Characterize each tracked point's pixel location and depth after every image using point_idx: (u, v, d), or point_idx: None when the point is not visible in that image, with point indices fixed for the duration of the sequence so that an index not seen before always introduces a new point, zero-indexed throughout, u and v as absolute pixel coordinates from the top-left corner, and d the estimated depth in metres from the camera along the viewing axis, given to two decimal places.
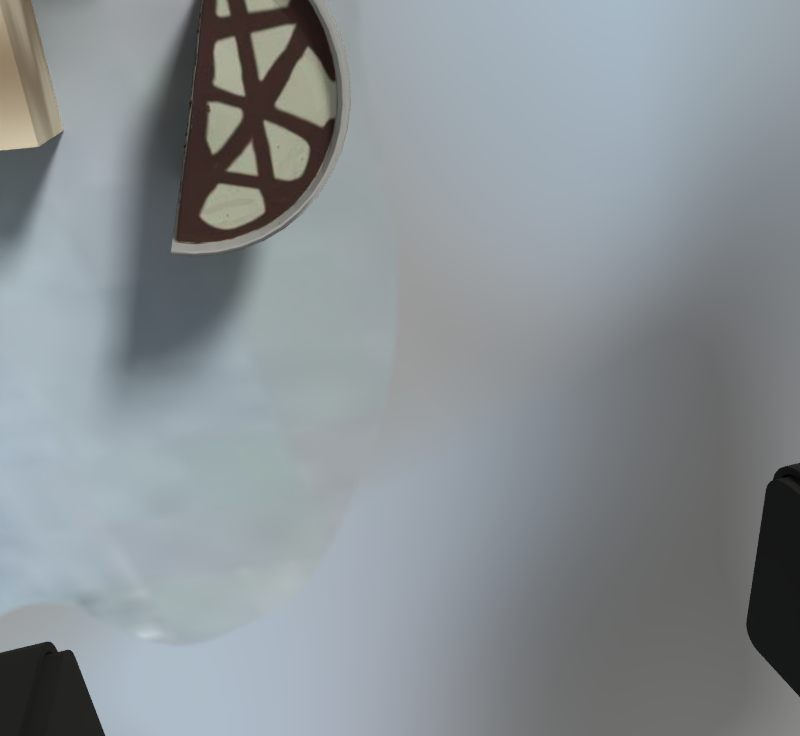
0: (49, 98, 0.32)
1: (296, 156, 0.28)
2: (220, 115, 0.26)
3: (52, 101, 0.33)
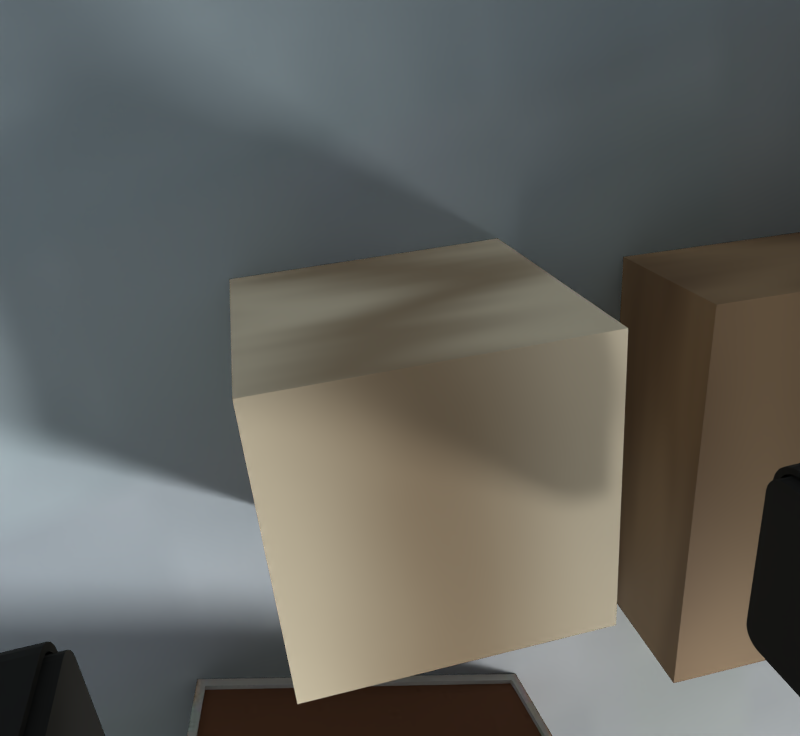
0: None
1: None
2: None
3: None
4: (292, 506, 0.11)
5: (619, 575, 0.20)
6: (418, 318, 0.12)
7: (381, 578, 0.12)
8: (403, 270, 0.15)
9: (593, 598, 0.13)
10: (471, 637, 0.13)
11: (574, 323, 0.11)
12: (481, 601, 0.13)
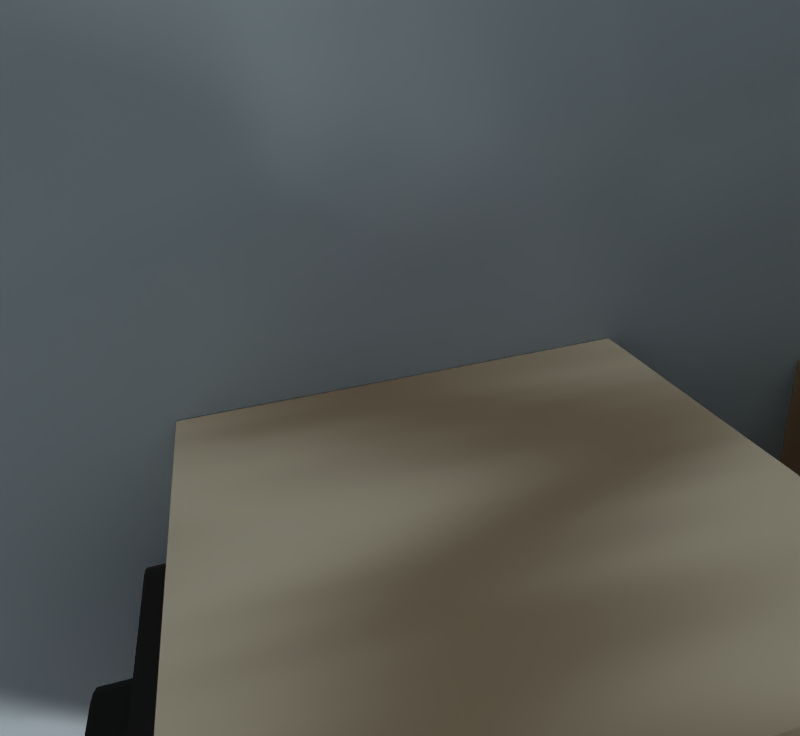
0: None
1: None
2: None
3: None
4: None
5: None
6: (544, 575, 0.06)
7: None
8: (474, 415, 0.09)
9: None
10: None
11: None
12: None
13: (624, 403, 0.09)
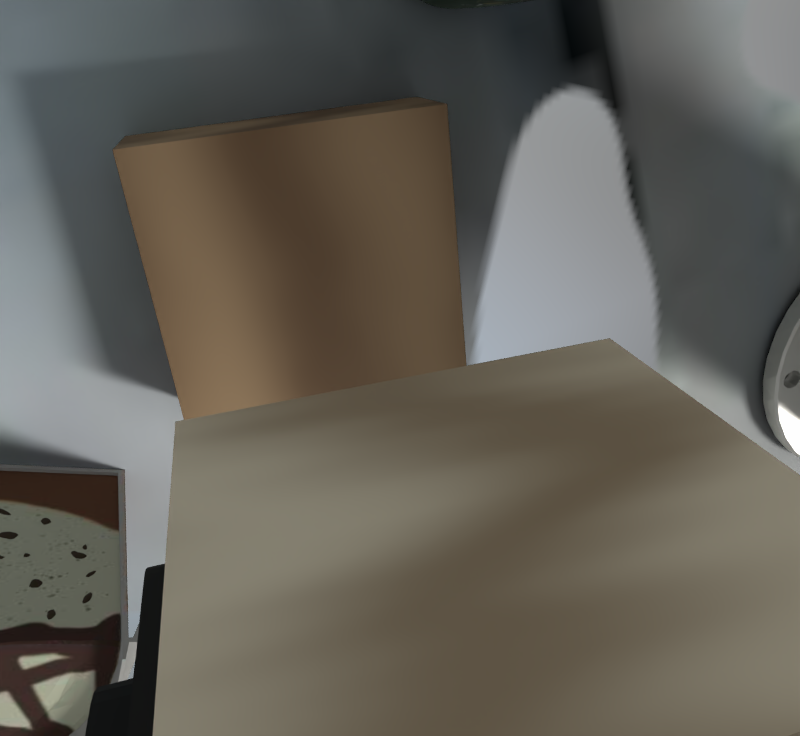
0: None
1: None
2: None
3: None
4: None
5: None
6: (545, 577, 0.06)
7: None
8: (475, 416, 0.09)
9: None
10: None
11: None
12: None
13: (625, 403, 0.09)
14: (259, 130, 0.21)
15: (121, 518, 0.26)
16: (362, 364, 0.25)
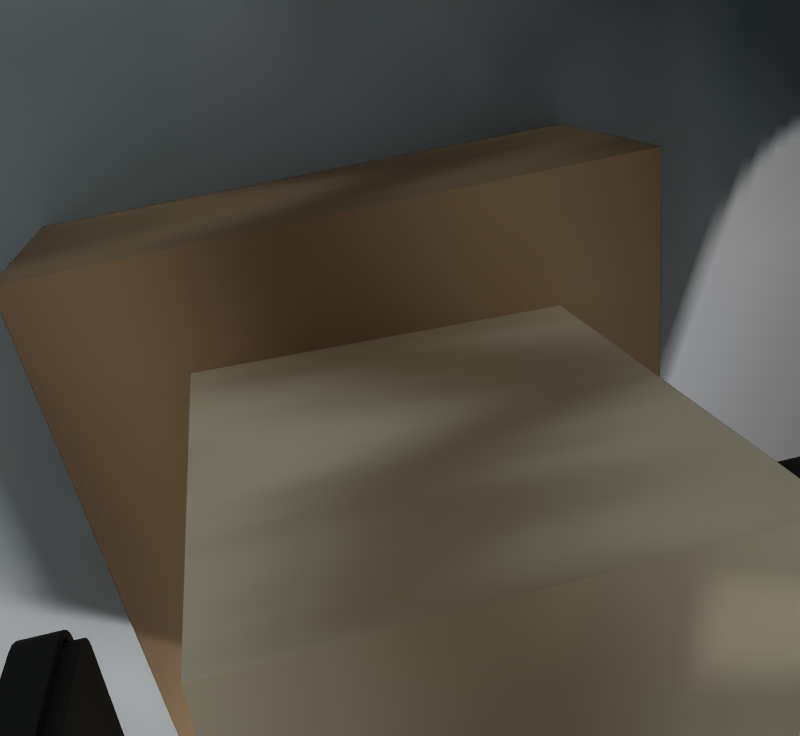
0: None
1: None
2: None
3: None
4: None
5: None
6: (484, 473, 0.08)
7: None
8: (440, 365, 0.10)
9: None
10: None
11: (746, 494, 0.07)
12: None
13: (565, 354, 0.10)
14: (296, 224, 0.10)
15: None
16: None
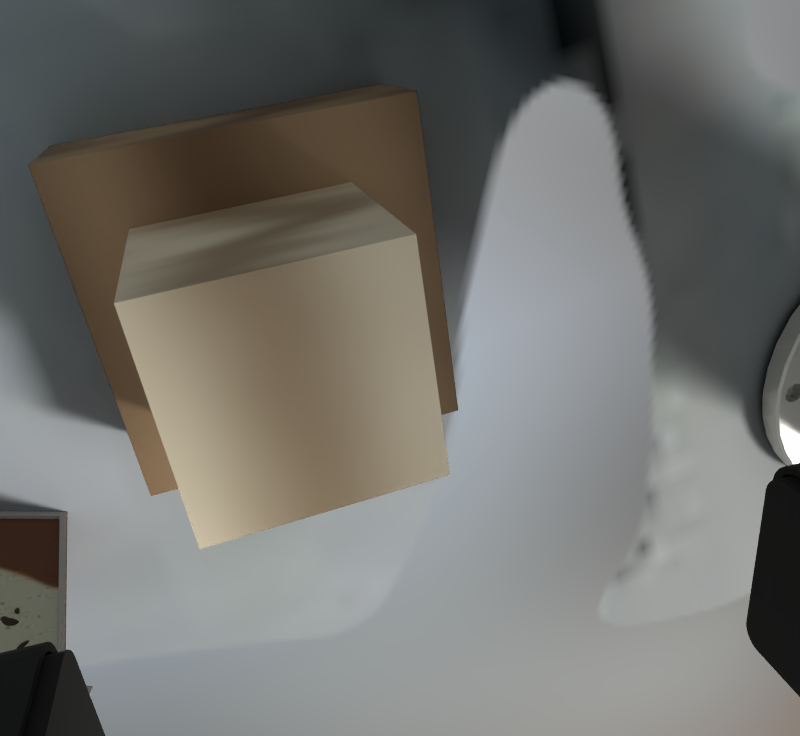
0: None
1: None
2: None
3: None
4: (172, 386, 0.15)
5: None
6: (267, 242, 0.16)
7: (252, 442, 0.16)
8: (268, 211, 0.18)
9: (426, 453, 0.17)
10: (332, 489, 0.17)
11: (379, 234, 0.15)
12: (335, 459, 0.16)
13: (337, 200, 0.18)
14: (201, 133, 0.18)
15: (61, 572, 0.23)
16: None
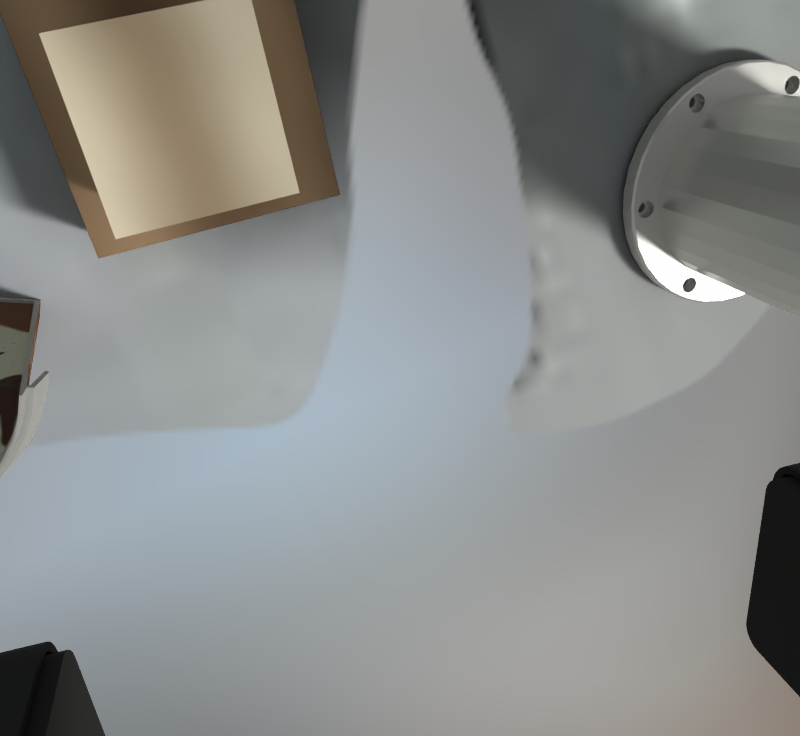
0: None
1: None
2: None
3: None
4: (84, 101, 0.21)
5: None
6: None
7: (146, 152, 0.22)
8: None
9: (279, 172, 0.24)
10: (210, 196, 0.23)
11: None
12: (209, 171, 0.23)
13: None
14: None
15: (32, 325, 0.29)
16: None
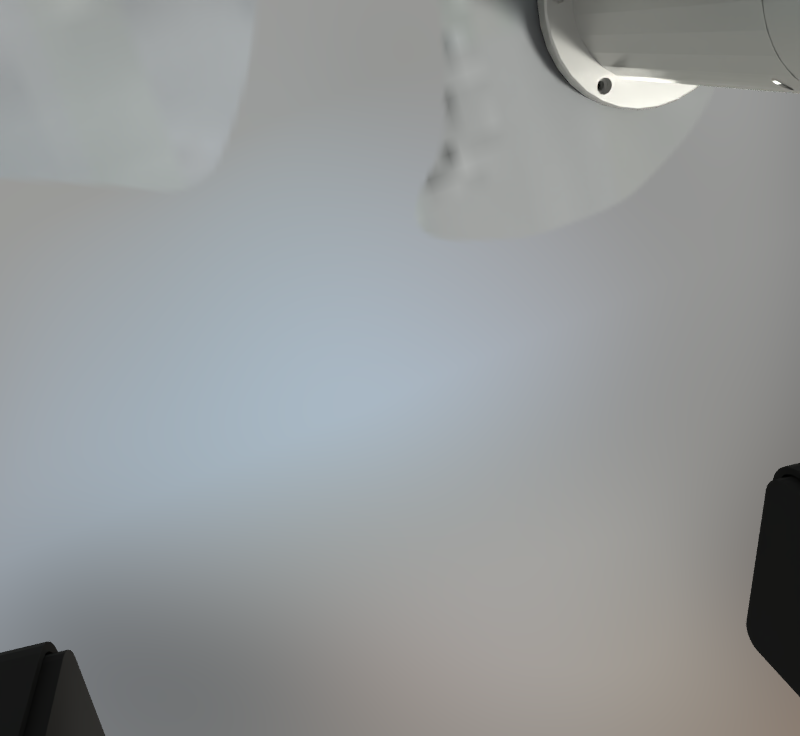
0: None
1: None
2: None
3: None
4: None
5: None
6: None
7: None
8: None
9: None
10: None
11: None
12: None
13: None
14: None
15: None
16: None
